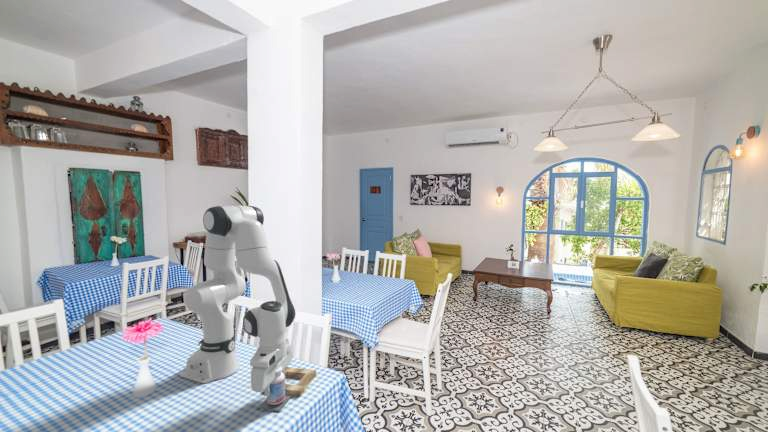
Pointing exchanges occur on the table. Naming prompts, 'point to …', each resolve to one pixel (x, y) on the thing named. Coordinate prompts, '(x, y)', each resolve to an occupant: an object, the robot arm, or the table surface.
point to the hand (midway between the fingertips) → (274, 388)
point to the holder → (306, 379)
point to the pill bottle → (277, 388)
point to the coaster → (274, 407)
